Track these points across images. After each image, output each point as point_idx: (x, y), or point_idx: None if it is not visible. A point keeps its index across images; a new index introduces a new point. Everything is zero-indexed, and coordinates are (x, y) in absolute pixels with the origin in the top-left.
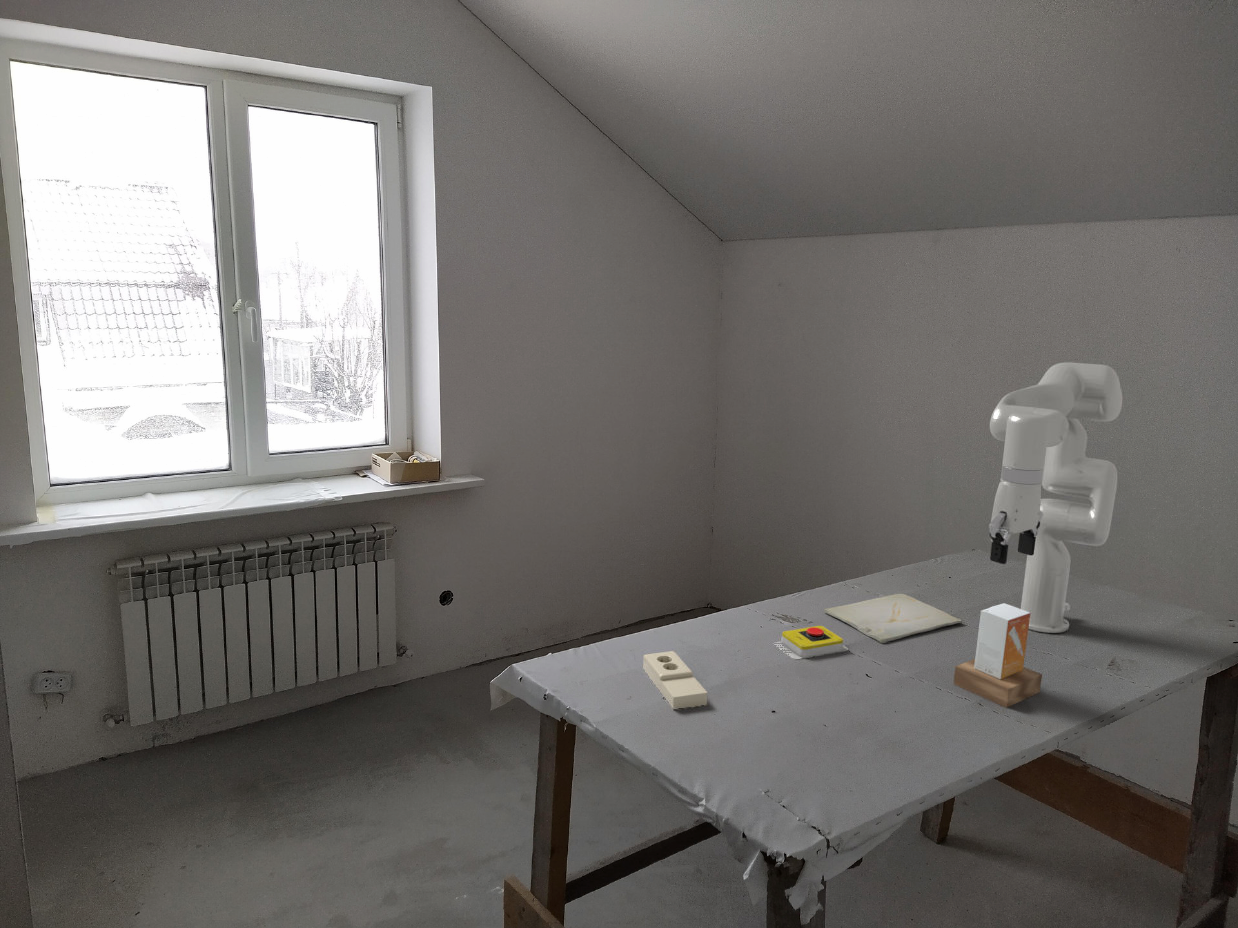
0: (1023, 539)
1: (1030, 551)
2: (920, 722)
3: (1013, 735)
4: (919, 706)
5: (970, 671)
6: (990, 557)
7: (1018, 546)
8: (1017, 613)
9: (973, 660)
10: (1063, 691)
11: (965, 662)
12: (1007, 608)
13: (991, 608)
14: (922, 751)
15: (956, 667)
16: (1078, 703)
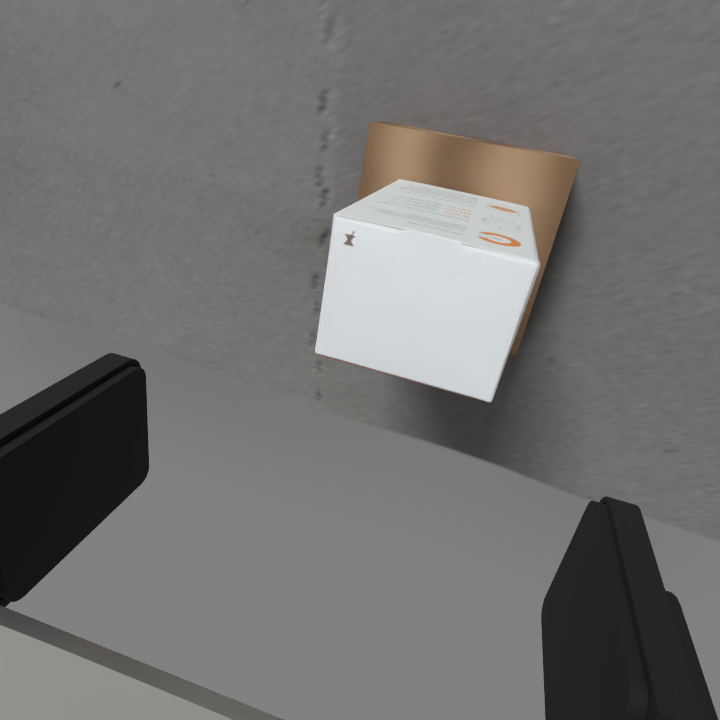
0: (597, 676)
1: (545, 631)
2: (127, 164)
3: (245, 345)
4: (188, 119)
5: (370, 179)
6: (97, 362)
7: (596, 541)
8: (428, 361)
9: (467, 146)
10: (569, 380)
11: (427, 133)
12: (458, 307)
13: (400, 244)
14: (43, 228)
15: (369, 127)
16: (517, 421)
